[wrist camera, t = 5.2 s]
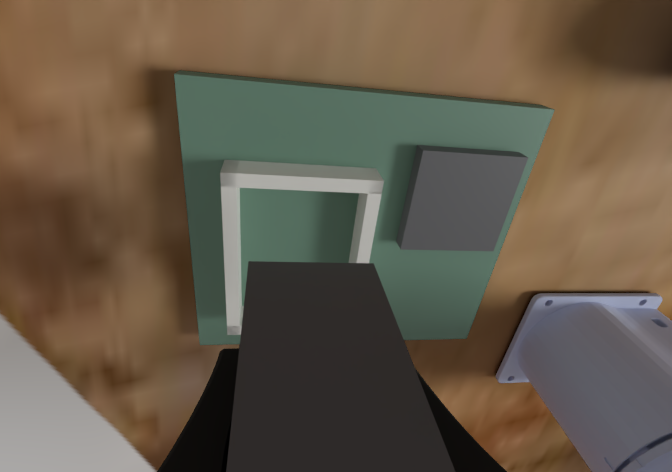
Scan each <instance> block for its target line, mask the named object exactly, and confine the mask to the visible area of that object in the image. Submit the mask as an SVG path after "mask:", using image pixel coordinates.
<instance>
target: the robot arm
mask: <svg viewBox="0 0 672 472" xmlns="http://www.w3.org/2000/svg"><path fill="white" fill-rule="evenodd" d="M661 302H662V297H661V296H660V295H658V294H656V293H541V294H537V295H535V296H534V297H533V298H532V299H531V301H530V303H529V305H528V308H527V310H526V312H525V314H524V316H523V318H522V320H521V323H520V325H519V327H518V329H517V331H516V333H515V335H514V337H513V340H512V342H511V344H510V346H509V348H508V350H507V352H506V355H505V357H504V359H503V361H502V363H501V365H500V367H499V370H498V372H497V374H496V379H497V381H498V382H499V383H515V382H530V383H531V384H532V386H533V387H534V388H535V390H536V391H537V393H538V394H539V396H540V397H541V399H542V400H543V402H544V403H545V404H546V406H547V407H548V409H549V410H550V412H551V413H552V415H553V416H554V418H555V419H556V420H557V422H558V423H559V425H560V426H561V428H562V429H563V431H564V432H565V434H566V435H567V436H568V438H569V439H570V441H571V442H572V444H573V445H574V447H575V448H576V450H577V451H578V452H579V454H580V455H581V457H582V458H583V460H584V461H585V463H586V464H587V466H588V467H589V468H590V470H591V471H592V472H672V321H671V320H670V319H669V318H667V317H666V316H665V315H663V314H662V313H661V312H660V311H658V310H657V308H658V306H659V305H660V303H661ZM238 356H239V349H223V350H222V351H220V353H219V357H218V360H217V362H216V365H215V368H214V370H213V372H212V375H211V377H210V379H209V381H208V384H207V386H206V388H205V390H204V392H203V394H202V396H201V398H200V400H199V402H198V404H197V406H196V407H195V409H194V411H193V413H192V415H191V417H190V419H189V421H188V422H187V424H186V426H185V427H184V429H183V431H182V433H181V434H180V436H179V438H178V439H177V441H176V443H175V444H174V446H173V448H172V449H171V451H170V453H169V454H168V456H167V457H166V459H165V460H164V462H163V464H162V465H161V467H160V468H159V470H158V471H157V472H226V469H227V460H228V450H229V441H230V431H231V422H232V413H233V403H234V394H235V384H236V375H237V365H238ZM415 370H416V369H415ZM416 373H417V375H418V378H419V380H420V383H421V385H422V388H423V390H424V393H425V395H426V398H427V401H428V403H429V406H430V408H431V411H432V413H433V416H434V418H435V421H436V424H437V426H438V429H439V431H440V434H441V436H442V439H443V441H444V444H445V446H446V449H447V452H448V454H449V457H450V459H451V462H452V464H453V467H454V469H455V472H507V471H506V470H505V469H504V468H502V467H501V466H500V465H499V464H498V463H497V462H496V461H495V460H494V459H493V458H492V457H491V456H490V455H489V454H488V453H487V452H486V451H485V450H484V449H483V448H482V447H481V446H480V445H479V444H478V443H477V442H476V441H475V440H474V439H473V437H472V436H471V435H470V434H469V433H468V432H467V431H466V430H465V429H464V428H463V427H462V425H461V424H460V423H459V422H458V421H457V420H456V419H455V418H454V416H453V415H452V414H451V413H450V412H449V411H448V409H447V408H446V407H445V406H444V404H443V403H442V402H441V401H440V400H439V398H438V397H437V396H436V395H435V393H434V392H433V391H432V390H431V388H430V387H429V386H428V385H427V383H426V382H425V381H424V379H423V378H422V377H421V376H420V374H419V373H418V372H417V370H416Z"/></svg>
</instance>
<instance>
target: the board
mask: <svg viewBox="0 0 672 472" xmlns="http://www.w3.org/2000/svg"><path fill="white" fill-rule="evenodd" d="M174 79H175V89H176V100H177V110H178V121H179V131H180V142H181V152H182V163H183V173H184V184H185V194H186V205H187V215H188V226H189V236H190V247H191V257H192V268H193V278H194V289H195V299H196V310H197V320H198V331H199V341H200V345H223V344H240V337H241V328H242V318H243V309H244V299H245V290H246V281H247V271H248V262H249V261H264V262H323V263H374V265H375V268H376V271H377V273H378V276H379V278H380V281H381V283H382V286H383V288H384V291H385V294H386V296H387V299H388V301H389V304H390V306H391V309H392V311H393V314H394V316H395V319H396V322H397V324H398V327H399V329H400V332H401V334H402V337H403V339H404V340H432V339H467V336H468V334H469V331H470V328H471V326H472V323H473V321H474V318H475V315H476V313H477V310H478V308H479V305H480V302H481V300H482V297H483V295H484V292H485V289H486V287H487V284H488V282H489V279H490V276H491V274H492V271H493V269H494V266H495V263H496V261H497V258H498V256H499V253H500V250H501V248H502V245H503V243H504V240H505V237H506V235H507V232H508V230H509V227H510V224H511V222H512V219H513V217H514V214H515V211H516V209H517V206H518V204H519V201H520V198H521V196H522V193H523V191H524V188H525V185H526V183H527V180H528V178H529V175H530V172H531V170H532V167H533V165H534V162H535V159H536V157H537V154H538V152H539V149H540V146H541V144H542V141H543V139H544V136H545V133H546V131H547V128H548V126H549V123H550V120H551V118H552V115H553V113H554V109H551V108H548V107H546V106H543V105H536V104H526V103H515V102H505V101H495V100H484V99H474V98H463V97H453V96H442V95H432V94H421V93H411V92H400V91H390V90H380V89H369V88H359V87H348V86H338V85H327V84H317V83H306V82H296V81H285V80H275V79H265V78H254V77H244V76H233V75H223V74H212V73H202V72H191V71H181V70H180V71H178V72H176V73H175V74H174Z"/></svg>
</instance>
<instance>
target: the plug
mask: <svg viewBox="0 0 672 472" xmlns="http://www.w3.org/2000/svg"><path fill="white" fill-rule="evenodd" d="M226 472H455V469H454V467H453V464H452V462H451V459H450V457H449V454H448V452H447V449H446V446H445V444H444V441H443V439H442V436H441V434H440V431H439V429H438V426H437V424H436V421H435V418H434V416H433V413H432V411H431V408H430V406H429V403H428V401H427V398H426V395H425V393H424V390H423V388H422V385H421V383H420V380H419V378H418V375H417V373H416V370H415V367H414V365H413V362H412V360H411V357H410V355H409V352H408V350H407V347H406V345H405V342H404V339H403V337H402V334H401V332H400V329H399V327H398V324H397V322H396V319H395V316H394V314H393V311H392V309H391V306H390V304H389V301H388V299H387V296H386V294H385V291H384V288H383V286H382V283H381V281H380V278H379V276H378V273H377V271H376V268H375V265H374V263H323V262H264V261H249V262H248V271H247V281H246V290H245V299H244V309H243V318H242V328H241V337H240V347H239V356H238V365H237V375H236V384H235V394H234V403H233V413H232V422H231V431H230V441H229V450H228V460H227V469H226Z"/></svg>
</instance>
